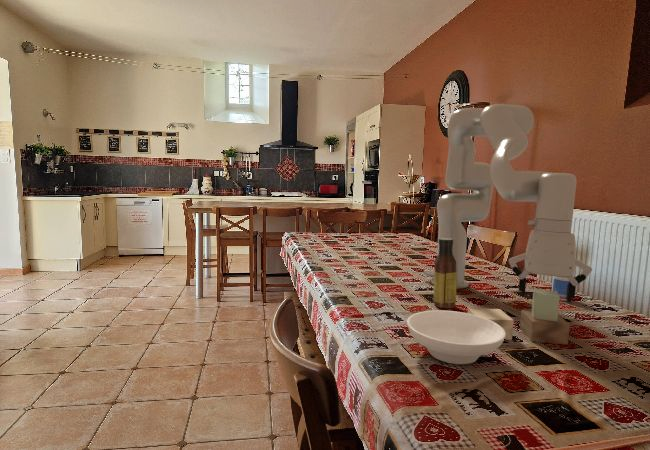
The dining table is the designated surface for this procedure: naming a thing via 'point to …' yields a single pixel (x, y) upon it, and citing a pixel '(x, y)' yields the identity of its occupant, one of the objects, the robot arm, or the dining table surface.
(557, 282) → the pill bottle
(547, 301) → the sage block
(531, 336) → the tan square block
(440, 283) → the sauce bottle
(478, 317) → the bowl
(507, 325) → the beech block
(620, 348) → the dining table surface
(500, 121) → the robot arm
